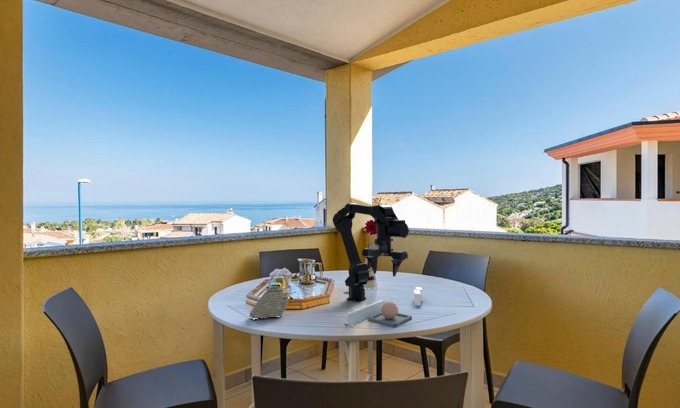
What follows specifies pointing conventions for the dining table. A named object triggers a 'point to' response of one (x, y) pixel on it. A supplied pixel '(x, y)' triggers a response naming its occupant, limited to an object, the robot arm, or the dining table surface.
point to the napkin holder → (418, 296)
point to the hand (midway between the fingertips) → (384, 274)
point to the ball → (389, 310)
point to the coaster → (391, 322)
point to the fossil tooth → (270, 303)
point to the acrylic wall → (364, 312)
